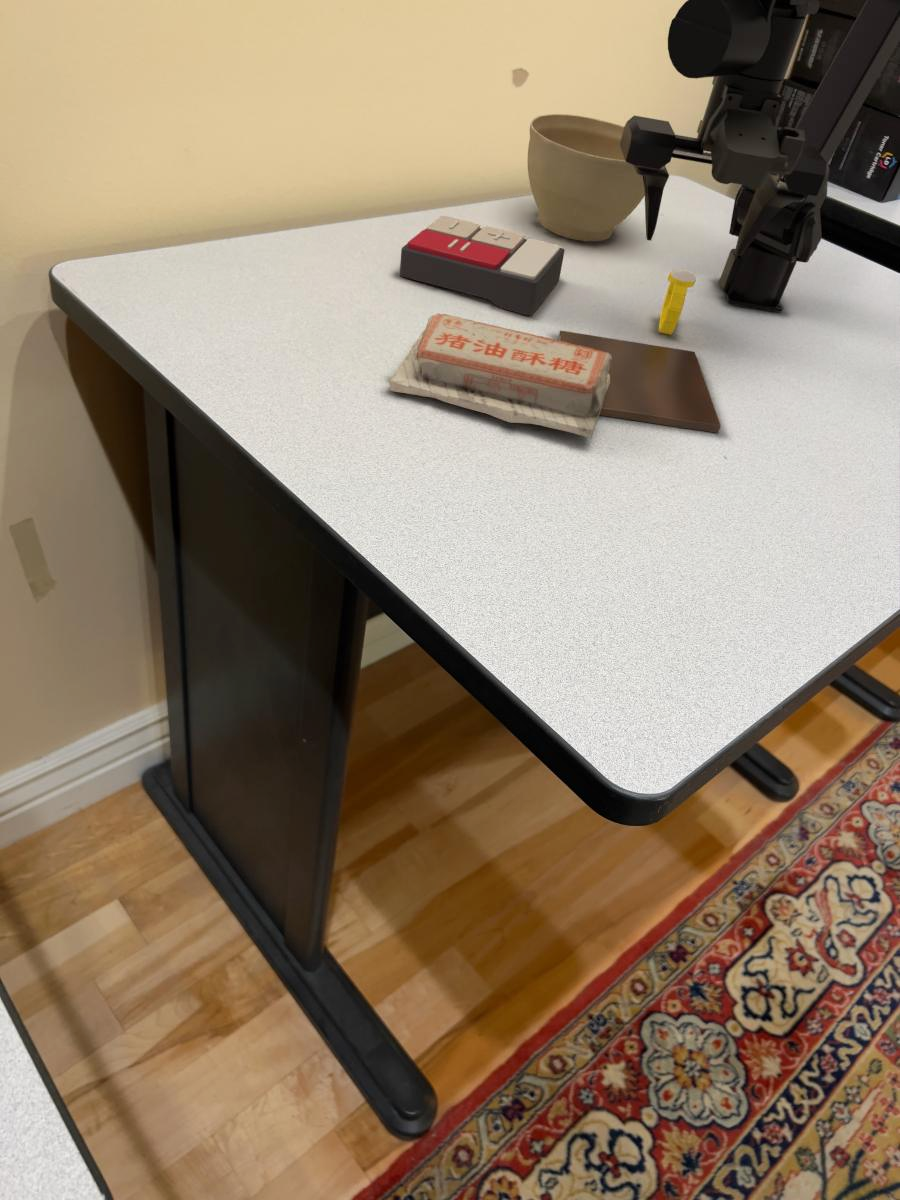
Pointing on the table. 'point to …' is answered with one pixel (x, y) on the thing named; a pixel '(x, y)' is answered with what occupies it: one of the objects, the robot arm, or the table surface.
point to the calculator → (484, 263)
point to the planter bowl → (581, 176)
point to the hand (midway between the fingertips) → (693, 246)
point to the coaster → (652, 383)
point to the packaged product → (507, 374)
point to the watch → (675, 299)
